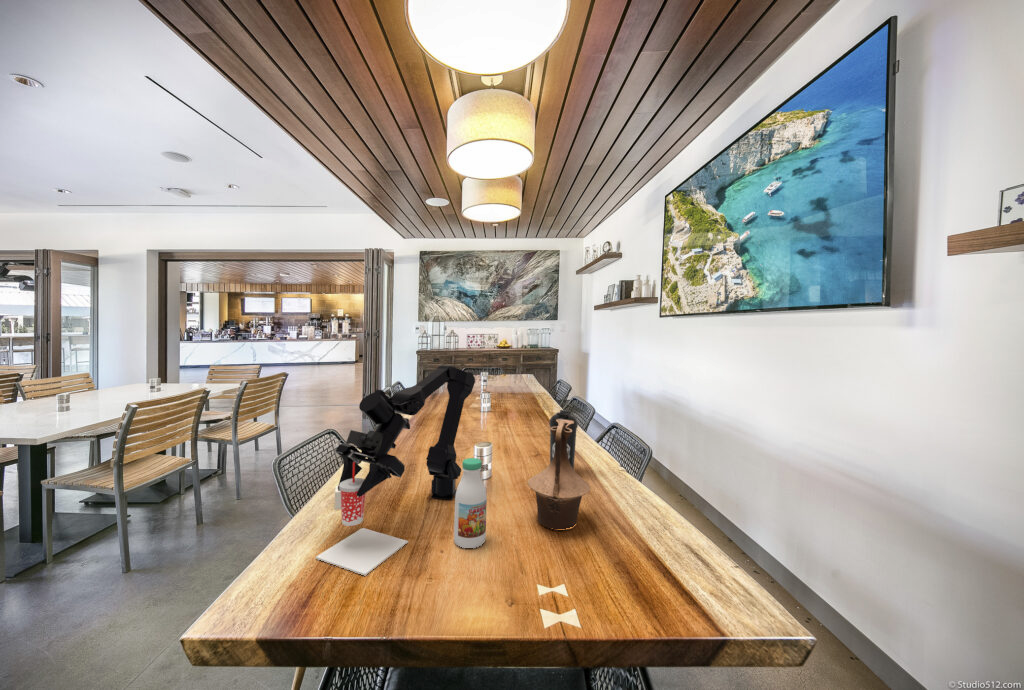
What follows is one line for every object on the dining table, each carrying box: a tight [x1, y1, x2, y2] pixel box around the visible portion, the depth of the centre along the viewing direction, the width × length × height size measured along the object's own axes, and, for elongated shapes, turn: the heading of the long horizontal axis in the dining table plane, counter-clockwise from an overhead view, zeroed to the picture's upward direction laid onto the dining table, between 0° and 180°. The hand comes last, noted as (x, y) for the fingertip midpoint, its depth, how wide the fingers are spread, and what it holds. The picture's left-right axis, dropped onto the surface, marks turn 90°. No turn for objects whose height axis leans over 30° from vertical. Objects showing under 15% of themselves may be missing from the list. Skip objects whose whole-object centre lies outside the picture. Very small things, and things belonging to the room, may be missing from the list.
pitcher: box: [527, 419, 591, 529], centre depth 106 cm, size 18×17×28 cm
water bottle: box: [548, 409, 579, 471], centre depth 141 cm, size 10×10×23 cm
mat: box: [315, 527, 409, 577], centre depth 89 cm, size 14×14×1 cm
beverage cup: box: [338, 462, 366, 527], centre depth 91 cm, size 6×6×14 cm
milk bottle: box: [453, 457, 488, 549], centre depth 95 cm, size 8×8×20 cm
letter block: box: [334, 484, 341, 511], centre depth 112 cm, size 5×5×5 cm
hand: (348, 492), depth 89 cm, fingers closed on beverage cup, 6 cm apart
